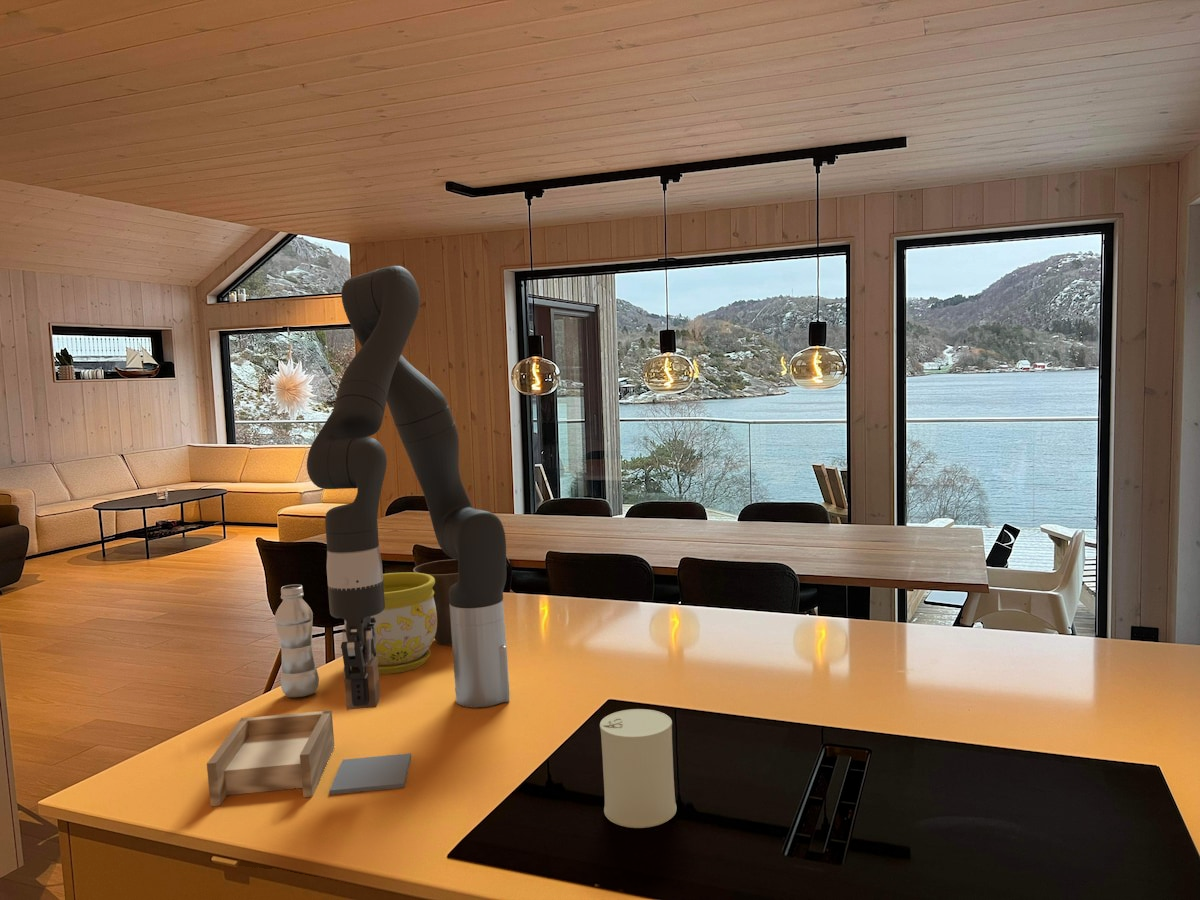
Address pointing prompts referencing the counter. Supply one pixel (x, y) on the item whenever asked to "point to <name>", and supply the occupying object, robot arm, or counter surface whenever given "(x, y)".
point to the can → (638, 768)
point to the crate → (272, 755)
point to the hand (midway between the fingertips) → (363, 698)
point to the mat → (371, 774)
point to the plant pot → (441, 594)
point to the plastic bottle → (296, 643)
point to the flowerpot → (405, 622)
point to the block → (372, 686)
